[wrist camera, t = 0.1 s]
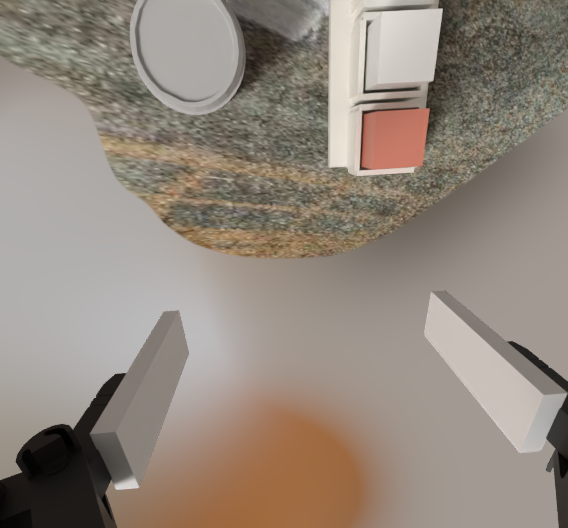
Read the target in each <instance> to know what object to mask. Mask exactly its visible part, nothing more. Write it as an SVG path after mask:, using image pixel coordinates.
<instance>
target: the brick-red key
mask: <svg viewBox="0 0 568 528" xmlns="http://www.w3.org/2000/svg"><path fill="white" fill-rule="evenodd" d="M429 111H430V108H427V109H410V110H394V111H377V112H372V113H368V114H365V115H363V133H362V153H361V167H365V168H369V169H386V168H401V167H416V166H422V164H423V157H424V149H425V141H426V134H427V126H428V118H429Z"/></svg>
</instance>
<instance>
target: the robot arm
mask: <svg viewBox="0 0 568 528" xmlns="http://www.w3.org/2000/svg"><path fill="white" fill-rule="evenodd" d="M424 335H425V337H426V338H427V339H428V340H429V341H430V343H431V344H432V345H433V346H434V348H435V349H436V350H437V351H438V353H439V354H440V355H441V356H442V357H443V359H444V360H445V361H446V362H447V364H448V365H449V366H450V367H451V369H452V370H453V371H454V372H455V373H456V375H457V376H458V377H459V379H460V380H461V381H462V382H463V384H464V385H465V386H466V387H467V389H468V390H469V391H470V392H471V394H472V395H473V396H474V397H475V398H476V399H477V401H478V402H479V403H480V405H481V406H482V407H483V408H484V410H485V411H486V412H487V413H488V415H489V416H490V417H491V418H492V420H493V421H494V422H495V423H496V424H497V426H498V427H499V428H500V429H501V431H502V432H503V433H504V434H505V435H506V437H507V438H508V439H509V441H510V442H511V443H512V444H513V446H514V447H515V448H516V449H517V450H518V452H519V453H524V452H535V451H541V450H542V448H543V445H544V443H545V441H546V439H547V440H548V441H549V442H550V443H551V444H552V445H553V446H554V447H555V448H556V449H555V451H554V453H553V455H552V457H551V459H550V461H549V463H548V465H547V468H546V471H548V472H551V470H552V468H553V467H554V475H555V487H556V499H557V511H558V522H559V528H568V381H566V380H565V379H564V378H563V377H561V376H560V375H559V374H558V373H556V372H555V371H554V370H553V369H551V368H549V367H548V365H546V364H545V363H544V362H543V361H542V360H539V358H538V357H537V356H535V355H534V354H533V353H532V352H530V351H529V350H528V349H526V348H524V347H522V346H520V345H519V344H517V343H515V342H513V341H511V342H506V341H505V340H504V339H503V338H502V337H500V336H499V335H498V334H497V333H496V332H495V331H493V330H492V329H491V328H489V326H487V325H486V324H485V323H484V322H483V321H481V320H480V319H479V318H478V317H477V316H475V315H474V314H473V313H472V312H471V311H470V310H468V309H467V308H466V307H465V306H464V305H462V304H461V303H460V302H459V301H457V300H456V299H455V298H454V297H453V296H452V295H450V294H449V293H448V292H447V291H432V292H431V297H430V302H429V308H428V314H427V320H426V326H425V332H424ZM188 354H189V351H188V347H187V343H186V338H185V334H184V330H183V326H182V321H181V317H180V313H179V311H166V312H163V314H162V316H161V317H160V319H159V321H158V322H157V324H156V325H155V327H154V329H153V330H152V332H151V334H150V335H149V337H148V339H147V340H146V342H145V344H144V345H143V347H142V349H141V350H140V352H139V354H138V355H137V357H136V359H135V360H134V362H133V364H132V365H131V367H130V368H129V370H128V372H127V373H122V374H115V375H114V376H113V377H111V378H110V379H109V380H108V381H107V382H106V383H105V384H104V385H103V386H102V387H101V389H100V391H99V392H98V393H97V395H96V398H94V399H93V401H92V402H91V404H90V407H88V408H87V410H86V411H85V413H84V414H83V416H82V417H81V419H80V420H79V422H78V423H77V425H76V426H75V428H74V429H72V428H71V427H70V426H69V425H65V424H60V425H54V426H51V427H49V428H47V429H44V430H42V431H41V432H39V433H38V434H36V435H35V436H33V437H32V438H31V439H30V440H29V441H28V442H27V443H25V445H24V446H23V447H22V448H21V450H20V451H19V453H18V455H17V458H16V463H17V465H18V466H19V468H20V469H21V471H22V473H19V474H16V475H14V476H11V477H8V478H5V479H2V480H0V528H117V526H116V523H115V520H114V517H113V513H112V510H111V507H110V504H109V501H108V498H107V496H106V494H105V492H106V490H107V488H108V485H109V483H110V481H111V480H112V482H113V484H114V486H115V488H116V490H120V489H131V488H139V487H140V485H141V482H142V479H143V477H144V474H145V471H146V468H147V466H148V463H149V460H150V458H151V455H152V452H153V449H154V447H155V444H156V441H157V439H158V436H159V433H160V430H161V428H162V425H163V422H164V419H165V417H166V414H167V412H168V409H169V406H170V403H171V400H172V398H173V395H174V392H175V390H176V387H177V384H178V382H179V379H180V376H181V374H182V371H183V368H184V365H185V363H186V360H187V357H188Z"/></svg>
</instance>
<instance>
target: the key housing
mask: <svg viewBox="0 0 568 528" xmlns="http://www.w3.org/2000/svg"><path fill="white" fill-rule="evenodd" d="M438 4H439V0H329V94H328V167H345V166H346V168H348V173H351V174H353V175H356V176H364V175H379V174H394V173H409V172H414V167H401V168H386V169H369V168H365V167H360V165H361V153H362V133H363V115H365V114H368V113H372V112H377V111H394V110H410V109H426V101H427V93H428V85H429V83H426V84H423V85H420V86H417V87H415V88H399V89H382V90H365V71H366V50H367V29H368V27H369V25H370V24H371V23H372V22H373V21H374V20H375V19H376V18H377V16H378V15H379V14H380V13H381V12H383V11H403V10H422V9H438ZM416 167H417V166H416Z"/></svg>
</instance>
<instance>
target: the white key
mask: <svg viewBox="0 0 568 528" xmlns="http://www.w3.org/2000/svg"><path fill="white" fill-rule="evenodd" d="M442 11H443V8H442V9H422V10H403V11H383V12H381V13H380V14H379V15H378V16H377V18H376V19H375V20H374V21H373V22H372V23H371V24H370V25H369V27H368V29H367V50H366V71H365V90H382V89H399V88H415V87H417V86H420V85H423V84H426V83H429V82H431V81H433V80H434V72H435V65H436V57H437V49H438V42H439V34H440V26H441V18H442Z"/></svg>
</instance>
